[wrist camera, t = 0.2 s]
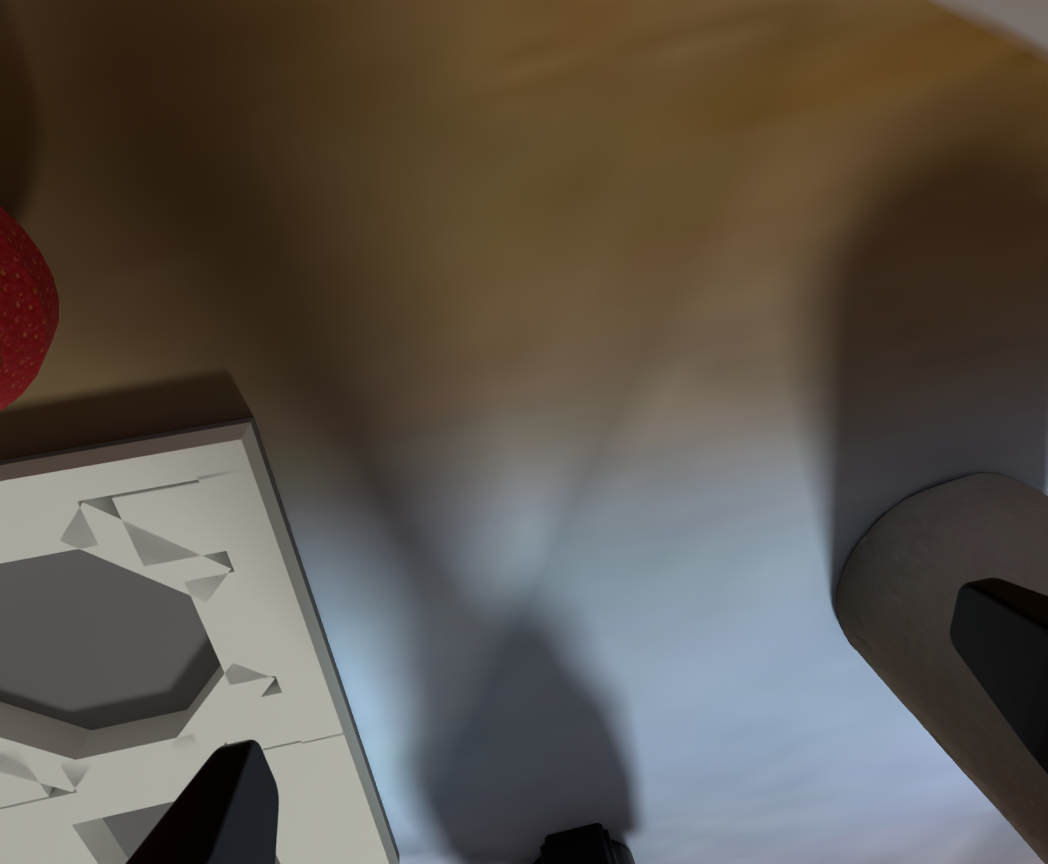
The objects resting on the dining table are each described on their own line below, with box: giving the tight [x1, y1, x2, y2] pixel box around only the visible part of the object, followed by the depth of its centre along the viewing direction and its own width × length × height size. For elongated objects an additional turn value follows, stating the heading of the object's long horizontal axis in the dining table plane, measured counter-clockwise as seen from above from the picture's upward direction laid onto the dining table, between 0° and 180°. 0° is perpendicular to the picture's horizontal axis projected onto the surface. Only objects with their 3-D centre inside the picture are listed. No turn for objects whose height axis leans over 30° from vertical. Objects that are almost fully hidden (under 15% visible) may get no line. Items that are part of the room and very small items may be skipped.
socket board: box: [0, 417, 399, 864], centre depth 23 cm, size 22×14×2 cm, turn 7°
